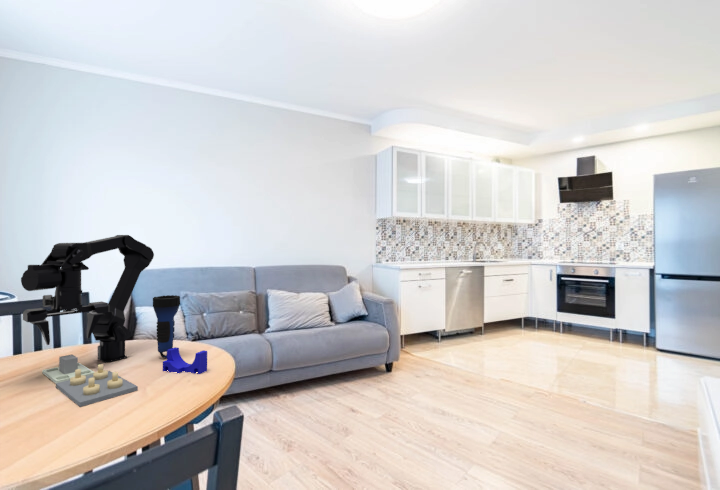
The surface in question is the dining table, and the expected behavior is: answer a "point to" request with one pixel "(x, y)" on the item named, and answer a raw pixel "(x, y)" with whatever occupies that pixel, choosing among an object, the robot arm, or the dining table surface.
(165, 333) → the flashlight
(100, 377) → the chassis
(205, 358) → the blue u-shaped cradle
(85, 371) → the board
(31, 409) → the dining table surface
